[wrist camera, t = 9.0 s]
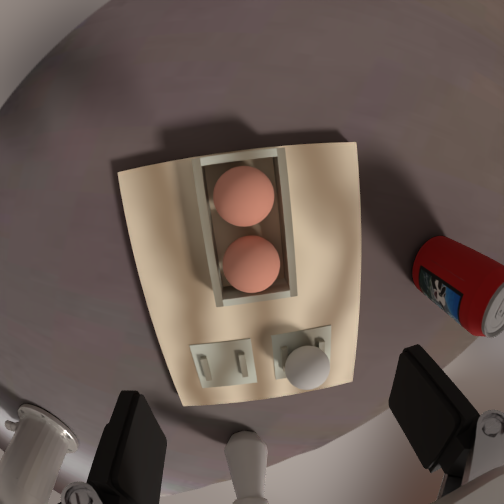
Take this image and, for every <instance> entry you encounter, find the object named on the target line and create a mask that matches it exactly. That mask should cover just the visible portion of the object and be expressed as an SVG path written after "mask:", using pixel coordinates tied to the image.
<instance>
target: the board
mask: <svg viewBox="0 0 504 504" xmlns="http://www.w3.org/2000/svg"><path fill="white" fill-rule="evenodd" d="M238 166H250V167H254V168H256V169H258V170H260V171H261V172H263V173H264V174H265V175H266V176H267V177H268V178H269V180H270V182H271V184H272V186H273V189H274V203H273V206H272V209H271V211H270V212H269V214H268V215H267V216H266V217H265V218H264V219H263V220H262V221H261V222H259V223H257V224H255V225H252V226H246V227H242V226H236V225H232V224H230V223H228V222H227V221H225V220H224V219H223V218H222V217H221V216H220V215H219V214H218V212H217V210H216V208H215V205H214V201H213V192H214V187H215V184H216V182H217V181H218V179H219V178H220V177H221V175H222V174H224V173H225V172H226V171H228V170H229V169H231V168H234V167H238ZM118 178H119V184H120V190H121V196H122V202H123V207H124V212H125V217H126V222H127V227H128V232H129V236H130V241H131V245H132V249H133V254H134V258H135V262H136V266H137V270H138V273H139V277H140V281H141V285H142V288H143V292H144V295H145V299H146V302H147V306H148V309H149V312H150V316H151V319H152V322H153V325H154V328H155V331H156V334H157V338H158V340H159V343H160V346H161V349H162V352H163V355H164V358H165V361H166V363H167V366H168V369H169V371H170V374H171V377H172V379H173V382H174V384H175V387H176V390H177V392H178V395H179V397H180V399H181V402H182V404H183V406H197V405H212V404H224V403H235V402H244V401H252V400H260V399H267V398H274V397H280V396H286V395H292V394H298V393H303V392H308V391H313V390H318V389H323V388H327V387H332V386H336V385H340V384H344V383H348V382H352V380H353V372H354V364H355V355H356V345H357V334H358V321H359V305H360V283H361V207H360V186H359V170H358V157H357V146H356V142H340V143H317V144H301V145H287V146H276V147H265V148H256V149H247V150H239V151H231V152H224V153H217V154H210V155H203V156H197V157H191V158H185V159H179V160H174V161H169V162H163V163H158V164H153V165H149V166H144V167H139V168H135V169H130V170H126V171H122V172H118ZM250 235H253V236H259V237H262V238H264V239H266V240H268V241H269V242H270V243H271V244H272V245H273V246H274V247H275V249H276V250H277V252H278V255H279V259H280V270H279V274H278V276H277V278H276V280H275V281H274V282H273V284H272V285H271V286H269V287H268V288H267V289H265V290H263V291H260V292H256V293H247V292H243V291H240V290H238V289H236V288H235V287H233V286H232V285H231V284H230V283H229V282H228V280H227V279H226V277H225V274H224V271H223V257H224V254H225V252H226V250H227V248H228V247H229V245H230V244H231V243H233V242H234V241H235V240H237V239H238V238H240V237H243V236H250ZM302 346H314V347H317V348H319V349H321V350H322V351H323V352H324V353H325V354H326V355H327V357H328V359H329V361H330V372H329V375H328V377H327V379H326V380H325V382H324V383H323V384H322V385H320V386H319V387H317V388H314V389H310V390H303V389H299V388H297V387H295V386H293V385H292V384H291V383H290V382H289V380H288V379H287V377H286V374H285V363H286V360H287V358H288V356H289V355H290V354H291V353H292V352H293V351H294V350H295V349H297V348H299V347H302Z"/></svg>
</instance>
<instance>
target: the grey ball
mask: <svg viewBox="0 0 504 504" xmlns="http://www.w3.org/2000/svg"><path fill="white" fill-rule="evenodd" d="M329 372H330V361H329V359H328V357H327V355H326V354H325V353H324V352H323V351H322V350H321V349H319V348H317V347H314V346H302V347H299V348H297V349H295V350H294V351H293V352H292V353H291V354H290V355H289V356H288V358H287V360H286V363H285V374H286V377H287V379H288V380H289V382H290V383H291V384H292V385H293V386H295V387H297V388H299V389H303V390H310V389H314V388H317V387H319V386H320V385H322V384H323V383H324V382H325V380H326V379H327V377H328V375H329Z"/></svg>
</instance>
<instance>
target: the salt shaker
mask: <svg viewBox="0 0 504 504" xmlns="http://www.w3.org/2000/svg"><path fill="white" fill-rule="evenodd" d="M224 452H225V456H226V459H227V463H228V466H229V470H230V474H231V478H232V482H233V485H234V489H235V492H236V496H237V500H235V501H234V502H233V504H269V503H268V501H267V499H265V498H263V497H264V485H265V475H266V463H267V446H266V444H265V443H264V442H263V441H262V440H261V438H260V437H259V436H258V435H257V433H256V432H250V431H241V432H238V433H235V434H232V436H231V438H230V440H229V441H228V443H227V445H226V447H225V450H224Z"/></svg>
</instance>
